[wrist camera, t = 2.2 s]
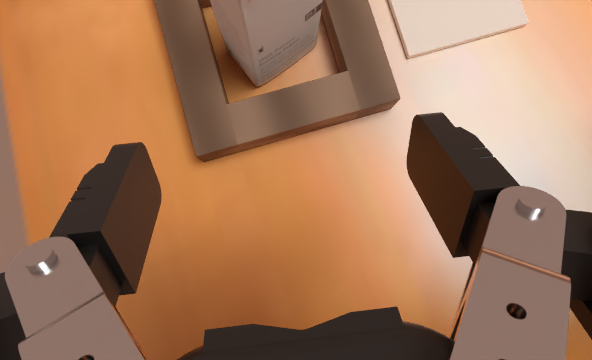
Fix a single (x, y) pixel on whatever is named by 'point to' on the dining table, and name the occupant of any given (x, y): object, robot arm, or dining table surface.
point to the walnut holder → (282, 103)
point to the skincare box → (267, 33)
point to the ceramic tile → (452, 22)
